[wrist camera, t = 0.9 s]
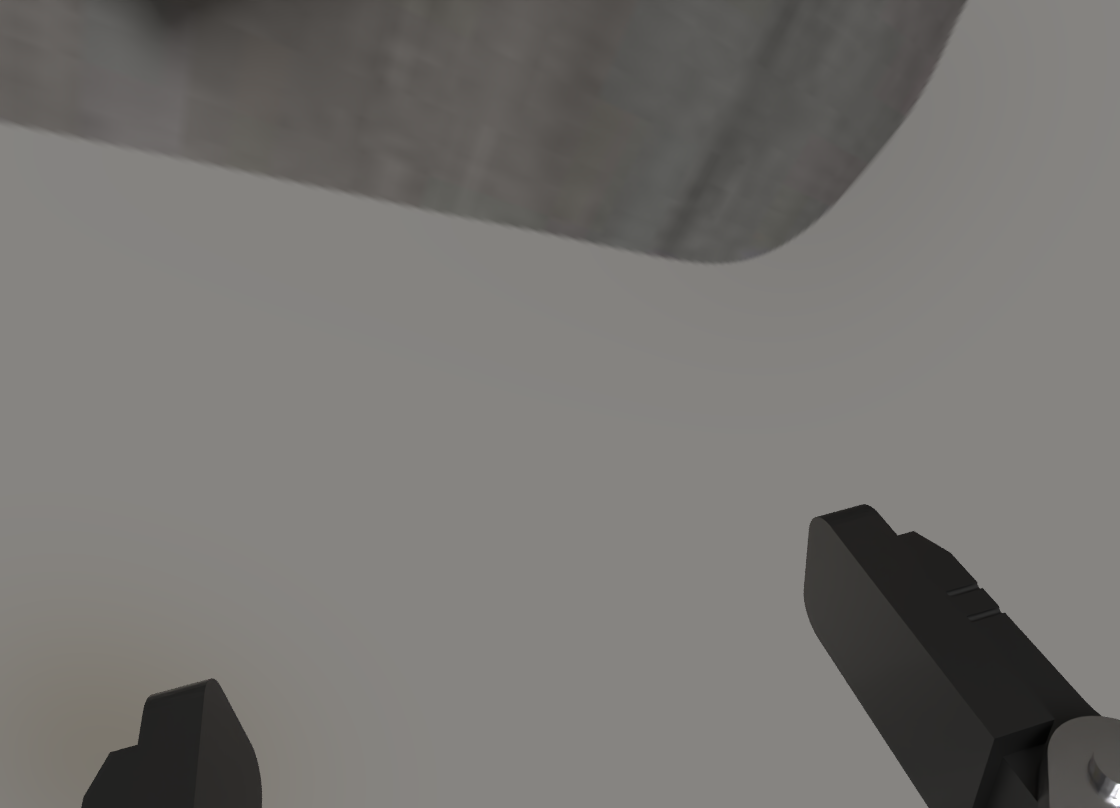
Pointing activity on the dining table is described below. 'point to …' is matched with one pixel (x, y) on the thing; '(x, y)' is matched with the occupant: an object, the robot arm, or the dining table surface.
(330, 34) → the dining table surface
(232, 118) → the dining table surface
